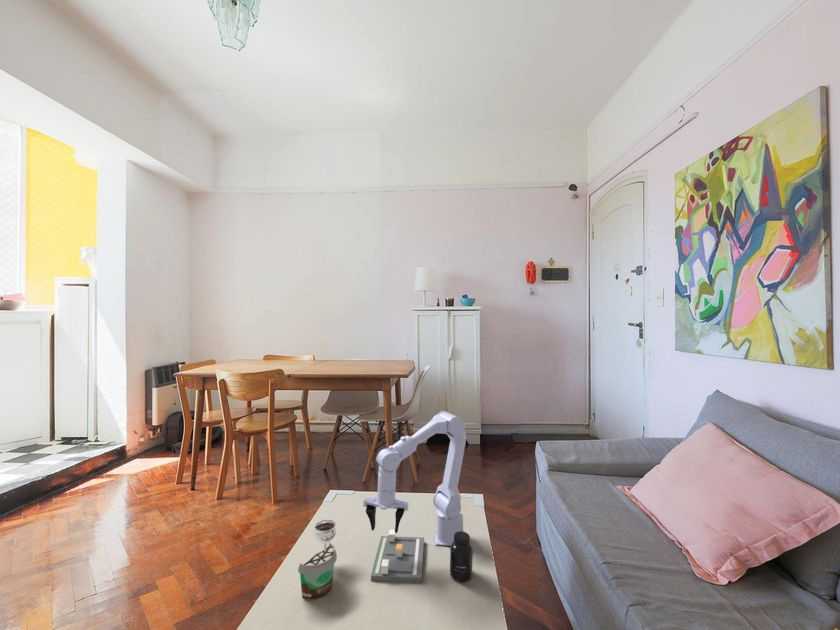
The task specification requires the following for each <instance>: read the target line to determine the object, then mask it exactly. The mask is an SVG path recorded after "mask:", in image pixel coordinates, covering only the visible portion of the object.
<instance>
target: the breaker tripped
mask: <svg viewBox="0 0 840 630" xmlns="http://www.w3.org/2000/svg"><path fill="white" fill-rule="evenodd" d="M402 555H403V544H397V547H396V557H402Z"/></svg>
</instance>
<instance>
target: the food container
mask: <svg viewBox="0 0 840 630" xmlns="http://www.w3.org/2000/svg"><path fill="white" fill-rule="evenodd" d="M337 555H338V554H337V551H336V548H335V547H334V545H333V544H332V543H331V542H328V546H326V549H325V550H324V549H323V550H322V551H319V552H318V553H316V554H314V555H313V556H312V557H311V558H310V559H309V560H307V561H306V562H305V563H303V564H302V563H299V566H298V570H297V573H299V576H300V577H299V579H300V585H301V586H300V588H301V598H303V599H304V598H305V600H308V599H309V601H313V600H314V601H315V600H318V599H322V598H323V597H325V596H327V595H328V594H329V593H330V592H331V591H332V589H333V580H334V578H333V577H334V569H335V567H334V566H335V563H336V562H337V559H338V556H337Z"/></svg>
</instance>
